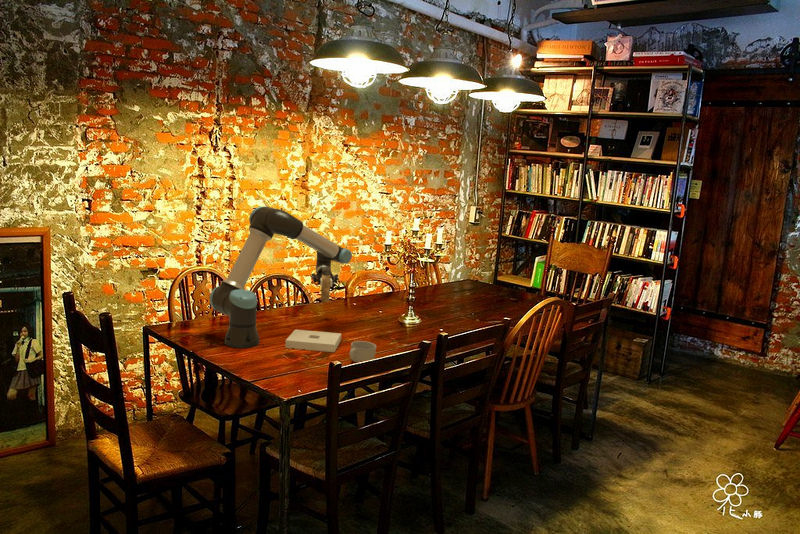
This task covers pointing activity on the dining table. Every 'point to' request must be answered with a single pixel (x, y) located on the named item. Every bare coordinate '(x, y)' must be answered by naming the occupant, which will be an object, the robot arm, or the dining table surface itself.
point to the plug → (325, 284)
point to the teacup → (362, 351)
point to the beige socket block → (313, 340)
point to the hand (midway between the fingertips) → (326, 283)
